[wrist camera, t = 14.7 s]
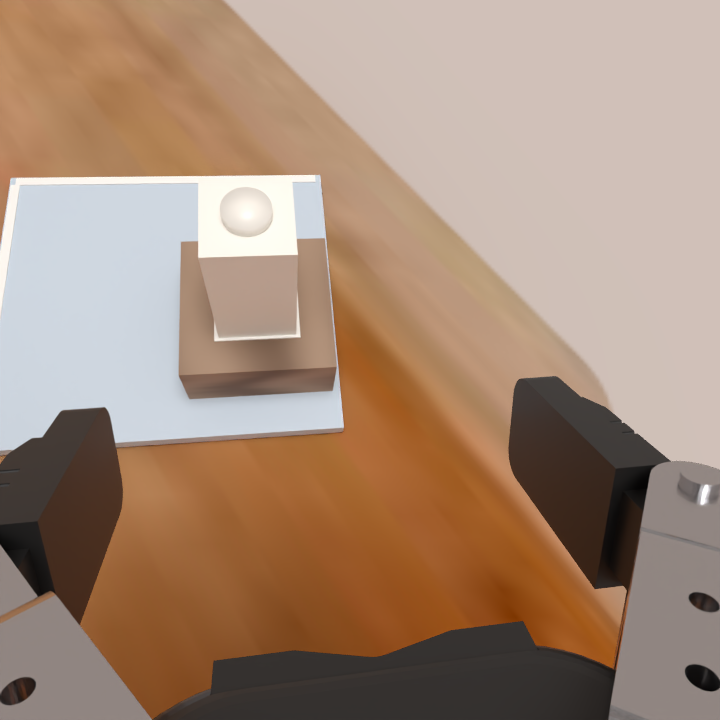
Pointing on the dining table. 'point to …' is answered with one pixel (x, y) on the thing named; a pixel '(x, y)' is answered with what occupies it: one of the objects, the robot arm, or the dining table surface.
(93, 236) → the build board
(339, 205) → the dining table surface
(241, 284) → the block
